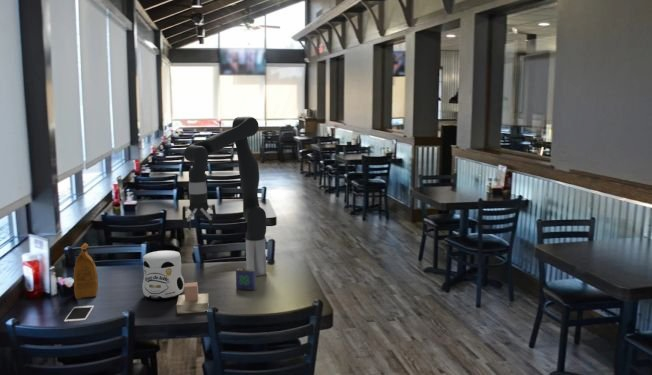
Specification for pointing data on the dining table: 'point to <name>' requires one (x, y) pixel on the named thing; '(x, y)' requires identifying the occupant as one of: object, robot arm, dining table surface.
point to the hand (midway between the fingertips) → (200, 228)
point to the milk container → (162, 275)
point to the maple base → (193, 304)
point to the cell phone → (79, 313)
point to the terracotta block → (191, 291)
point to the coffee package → (85, 275)
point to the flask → (245, 279)
